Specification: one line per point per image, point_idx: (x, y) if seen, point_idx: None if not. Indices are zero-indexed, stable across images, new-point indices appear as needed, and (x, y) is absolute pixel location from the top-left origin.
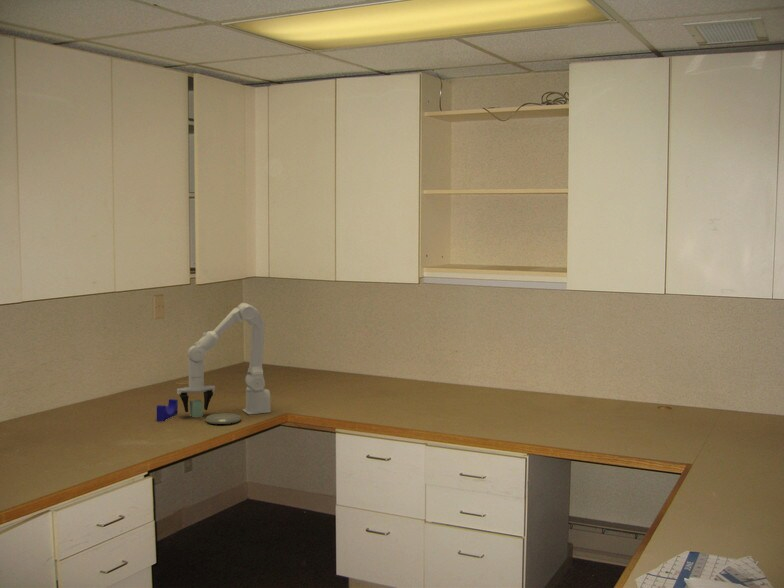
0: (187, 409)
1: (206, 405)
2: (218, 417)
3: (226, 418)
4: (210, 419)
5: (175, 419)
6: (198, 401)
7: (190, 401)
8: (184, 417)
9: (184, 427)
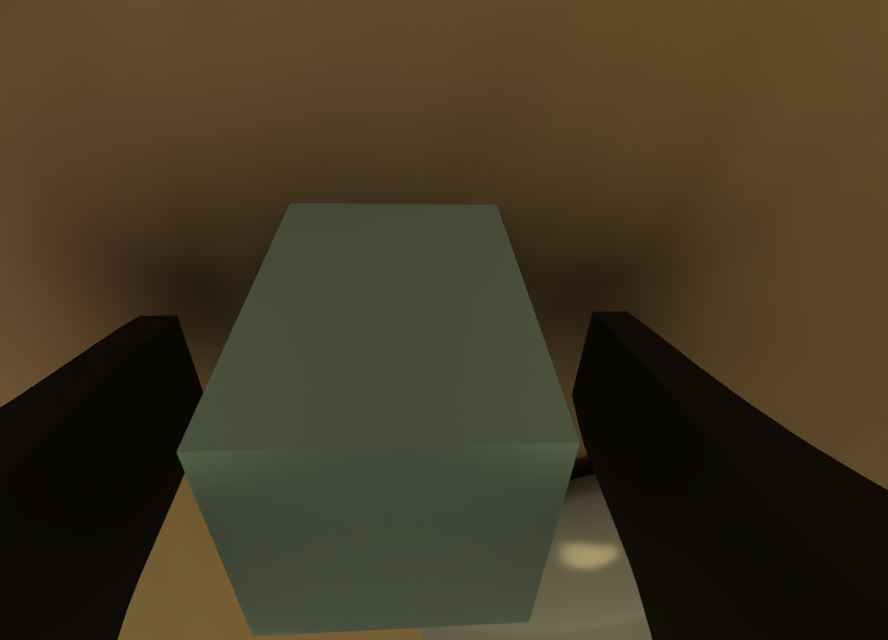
0: (173, 458)
1: (606, 497)
2: (566, 603)
3: (615, 636)
4: (454, 631)
5: (13, 347)
6: (443, 578)
7: (204, 504)
8: (175, 287)
9: (172, 617)
